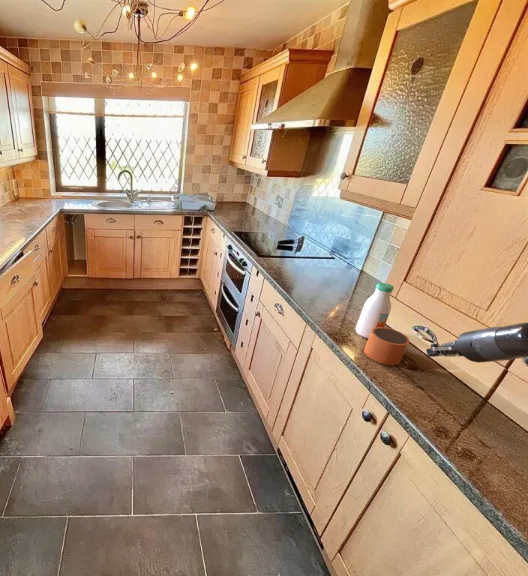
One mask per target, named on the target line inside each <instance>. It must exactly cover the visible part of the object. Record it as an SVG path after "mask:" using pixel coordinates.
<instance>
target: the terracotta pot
mask: <svg viewBox="0 0 528 576" xmlns="http://www.w3.org/2000/svg"><path fill="white" fill-rule="evenodd" d="M409 344H410V339H409V337H408V336H407V335H405V334H404V333H402V332H401V331H398V330H396V329H393V328H389V327H385V326H384V327H376V328H373V329H372V330H371V333H370V336H369V338H367V341H366V343H365V345H364V349H363V353H364V354H365V355H366V356H367V357H368V358H369V359H371V360H372V361H374V362H376V363H379V364H382V365H386V366H397V365H399V364H400V363H401V361H402V360H403V357H404V355H405V353H406V351H407V349H408V347H409Z"/></svg>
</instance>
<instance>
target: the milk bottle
mask: <svg viewBox="0 0 528 576" xmlns="http://www.w3.org/2000/svg"><path fill="white" fill-rule="evenodd" d="M393 290H394V286H393V284H390V283H387V282H379V283H377V284H376V286H375V291H374V293H372V295H371V296H370V297H368V298H367V300H366V301H365V303H364V305H363V307H362V310H361V313H360V316H359V318H358V320H357V323H356V326H355V332H356V333H357V334H358V335H359V336H361V337H363V338H366V339H368V338H369V336H370V333H371V330H372V329H373V328H376V327H385V326H386V323H387V321H388V319H389V316H390V314H391V309H392V303H391V294H392V293H393Z"/></svg>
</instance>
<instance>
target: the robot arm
mask: <svg viewBox="0 0 528 576" xmlns="http://www.w3.org/2000/svg"><path fill="white" fill-rule="evenodd" d="M425 351H426V355H427V357H430V358H432V357H433V358H435V357H447V358H448V357H449V358H450V357H452V358H459V357H464V358H465V359H466V360H468V361H470V362H473V363H478V364H479V363H480V364H481V363H490V362H491V363H492V362H503V361H512V360H516V359H524V358H525V359H526V358H528V322H520V323H514V324H509V325H503V326H491V327H485V328H481V329H476V330H469V331H466V332H462V333H461V334H459V336H458V337H457V338H456V340H449V341H448V342H444V343H441V344H438V343H431V344H430V348H426V350H425Z"/></svg>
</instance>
